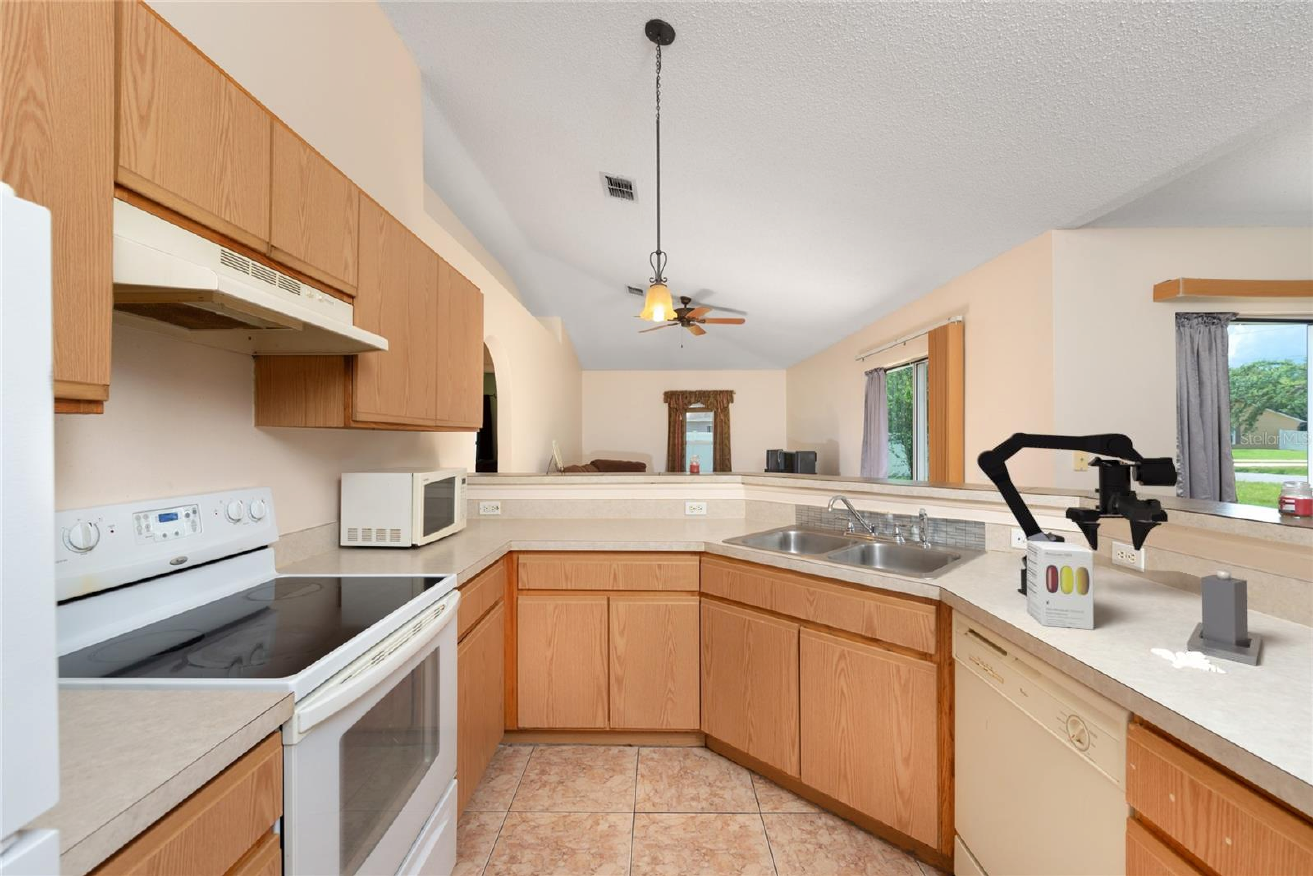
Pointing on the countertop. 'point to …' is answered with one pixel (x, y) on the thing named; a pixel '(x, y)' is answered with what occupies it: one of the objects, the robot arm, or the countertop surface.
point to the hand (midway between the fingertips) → (1115, 550)
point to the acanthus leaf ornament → (1188, 660)
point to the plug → (1224, 609)
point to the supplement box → (1060, 584)
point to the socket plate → (1225, 647)
